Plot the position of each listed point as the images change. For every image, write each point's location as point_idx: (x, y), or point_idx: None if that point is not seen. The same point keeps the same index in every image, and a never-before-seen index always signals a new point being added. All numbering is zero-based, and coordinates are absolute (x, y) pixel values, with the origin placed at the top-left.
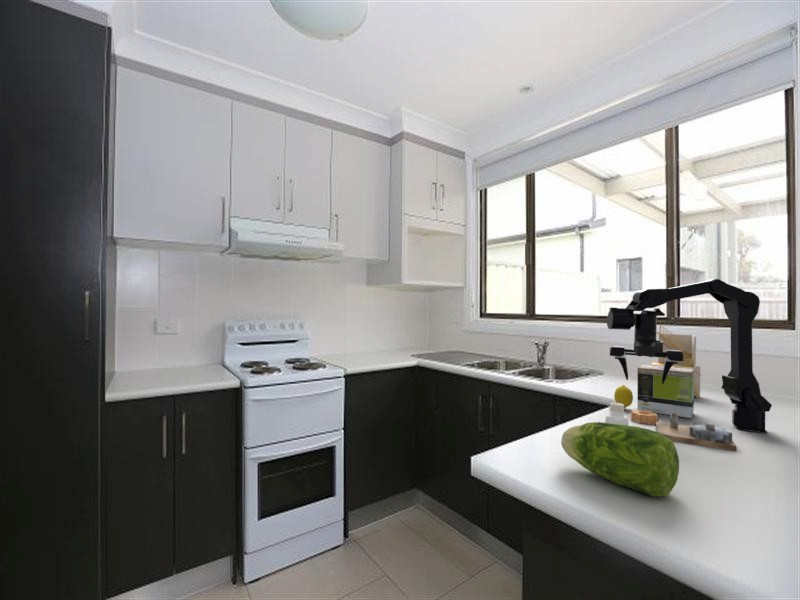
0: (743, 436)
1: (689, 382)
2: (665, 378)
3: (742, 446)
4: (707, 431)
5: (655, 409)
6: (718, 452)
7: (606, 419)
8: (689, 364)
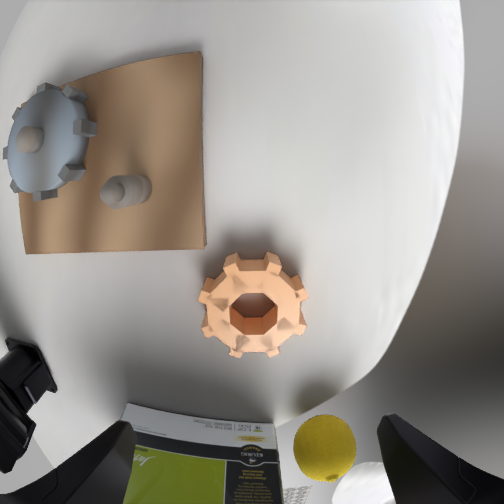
0: (17, 283)
1: None
2: (90, 443)
3: None
4: (46, 103)
5: (221, 427)
6: (66, 55)
7: None
8: None
